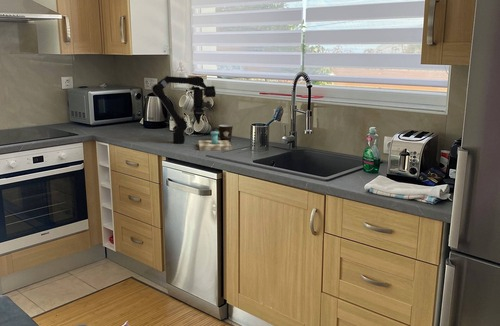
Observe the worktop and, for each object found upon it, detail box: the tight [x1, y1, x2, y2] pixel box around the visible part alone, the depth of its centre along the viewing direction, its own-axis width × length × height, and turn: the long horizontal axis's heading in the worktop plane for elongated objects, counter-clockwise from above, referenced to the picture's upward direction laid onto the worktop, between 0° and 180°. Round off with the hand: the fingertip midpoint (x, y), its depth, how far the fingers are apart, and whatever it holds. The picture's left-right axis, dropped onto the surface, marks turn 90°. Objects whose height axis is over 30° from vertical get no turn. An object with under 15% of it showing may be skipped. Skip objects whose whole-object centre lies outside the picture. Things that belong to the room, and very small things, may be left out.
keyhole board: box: [198, 139, 232, 151], centre depth 293 cm, size 18×18×2 cm
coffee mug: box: [212, 124, 234, 143], centre depth 313 cm, size 12×9×10 cm
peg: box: [210, 130, 220, 144], centre depth 293 cm, size 5×5×9 cm
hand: (198, 122), depth 306 cm, fingers open, 9 cm apart
